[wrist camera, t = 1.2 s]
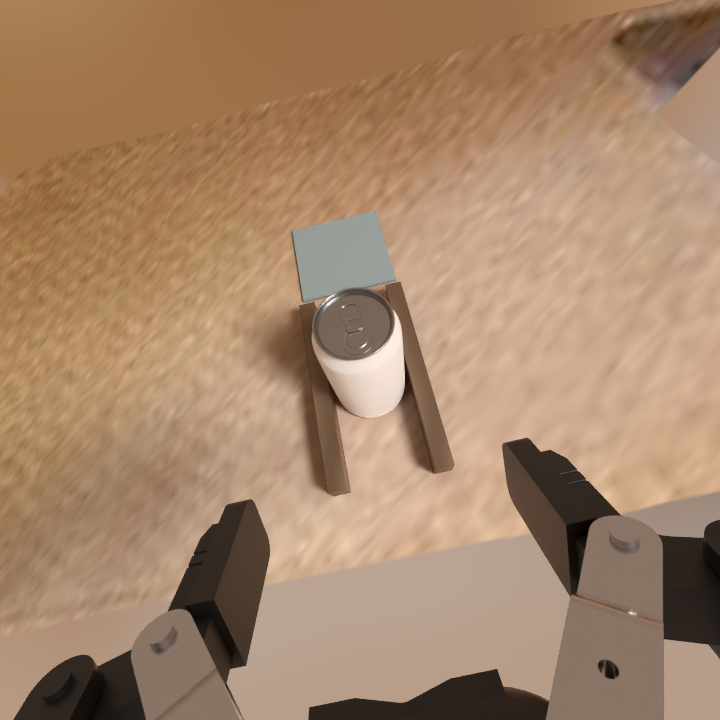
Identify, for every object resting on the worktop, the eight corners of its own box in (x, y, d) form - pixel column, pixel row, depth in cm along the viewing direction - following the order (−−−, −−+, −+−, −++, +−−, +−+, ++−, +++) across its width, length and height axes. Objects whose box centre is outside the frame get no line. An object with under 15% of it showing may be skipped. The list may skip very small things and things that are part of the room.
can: (344, 427, 36) (314, 377, 25) (330, 364, 39) (298, 295, 28) (413, 409, 36) (413, 350, 25) (394, 347, 39) (387, 271, 28)
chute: (333, 496, 34) (327, 492, 31) (305, 318, 41) (299, 305, 39) (451, 470, 33) (454, 464, 31) (401, 295, 41) (400, 281, 39)
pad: (304, 302, 42) (303, 300, 42) (292, 232, 47) (292, 230, 46) (395, 280, 42) (395, 279, 42) (376, 212, 46) (375, 210, 46)
